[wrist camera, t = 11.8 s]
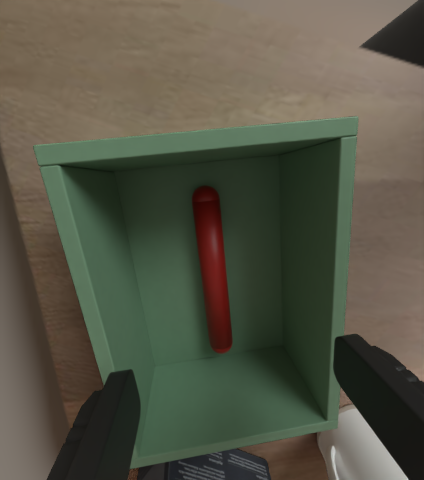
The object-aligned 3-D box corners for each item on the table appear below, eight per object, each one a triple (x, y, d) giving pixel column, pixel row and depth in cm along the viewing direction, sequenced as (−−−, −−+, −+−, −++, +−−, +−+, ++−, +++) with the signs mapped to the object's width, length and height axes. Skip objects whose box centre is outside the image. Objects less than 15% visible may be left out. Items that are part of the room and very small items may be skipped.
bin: (103, 161, 16) (31, 144, 9) (285, 143, 17) (359, 115, 10) (149, 369, 21) (127, 470, 14) (288, 346, 22) (338, 428, 15)
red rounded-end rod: (208, 344, 20) (213, 361, 18) (188, 186, 16) (191, 187, 14) (230, 340, 20) (236, 356, 18) (215, 183, 17) (221, 183, 15)
